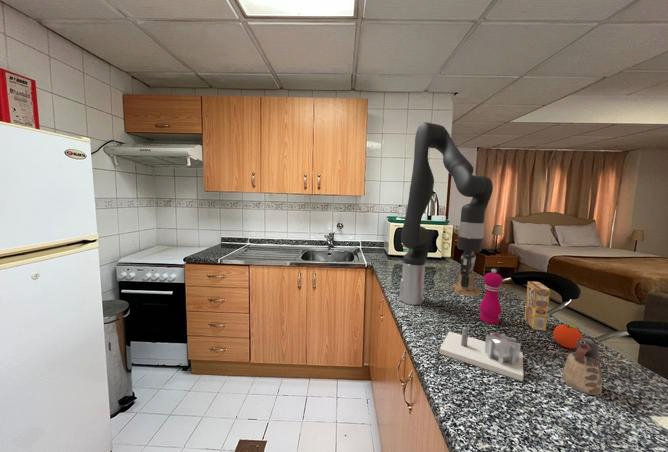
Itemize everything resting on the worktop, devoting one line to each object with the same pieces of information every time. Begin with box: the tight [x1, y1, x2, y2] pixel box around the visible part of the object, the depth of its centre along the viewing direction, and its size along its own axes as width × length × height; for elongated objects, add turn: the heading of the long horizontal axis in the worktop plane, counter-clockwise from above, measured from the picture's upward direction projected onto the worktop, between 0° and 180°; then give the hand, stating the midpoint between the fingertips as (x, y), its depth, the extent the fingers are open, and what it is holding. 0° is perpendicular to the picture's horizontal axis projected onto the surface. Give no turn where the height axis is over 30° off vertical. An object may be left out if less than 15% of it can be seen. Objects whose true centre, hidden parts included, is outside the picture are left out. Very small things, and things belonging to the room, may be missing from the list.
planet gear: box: [450, 271, 481, 298], centre depth 92 cm, size 9×9×6 cm
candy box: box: [524, 280, 551, 332], centre depth 98 cm, size 9×4×15 cm, turn 162°
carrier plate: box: [439, 326, 524, 382], centre depth 78 cm, size 20×13×7 cm, turn 56°
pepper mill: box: [479, 268, 503, 325], centre depth 101 cm, size 7×7×20 cm
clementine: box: [553, 324, 583, 349], centre depth 84 cm, size 8×7×7 cm
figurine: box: [562, 337, 603, 396], centre depth 66 cm, size 7×7×12 cm
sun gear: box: [485, 331, 522, 366], centre depth 75 cm, size 8×8×5 cm
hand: (465, 284), depth 92 cm, fingers closed on planet gear, 4 cm apart
